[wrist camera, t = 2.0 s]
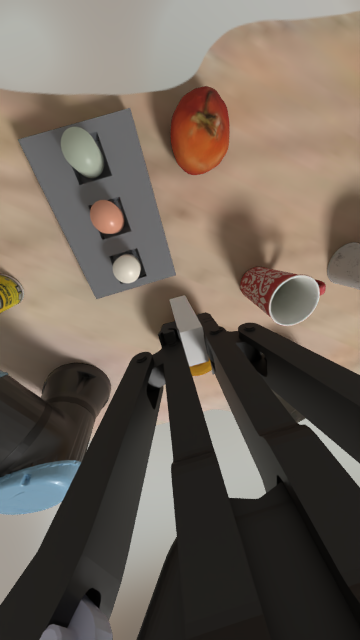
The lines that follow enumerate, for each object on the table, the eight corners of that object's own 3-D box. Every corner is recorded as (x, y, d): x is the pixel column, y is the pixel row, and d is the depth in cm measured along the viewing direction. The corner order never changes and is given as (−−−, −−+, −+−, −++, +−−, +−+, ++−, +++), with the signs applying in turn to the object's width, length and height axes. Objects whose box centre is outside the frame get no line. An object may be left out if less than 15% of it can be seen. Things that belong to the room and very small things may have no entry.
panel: (100, 293, 40) (96, 299, 36) (32, 149, 29) (17, 139, 26) (173, 271, 40) (176, 275, 37) (132, 121, 29) (130, 107, 26)
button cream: (122, 281, 36) (119, 286, 32) (112, 257, 34) (108, 260, 30) (144, 274, 36) (143, 279, 32) (135, 250, 34) (134, 252, 31)
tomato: (191, 192, 34) (202, 181, 27) (155, 141, 31) (157, 113, 24) (231, 150, 33) (254, 127, 26) (197, 91, 29) (213, 45, 22)
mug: (236, 305, 45) (268, 331, 33) (235, 266, 41) (270, 280, 29) (285, 295, 46) (334, 317, 34) (289, 256, 42) (346, 265, 30)
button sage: (81, 181, 29) (71, 174, 25) (66, 145, 27) (53, 131, 24) (108, 173, 29) (103, 165, 26) (96, 137, 27) (87, 122, 24)
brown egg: (103, 236, 33) (98, 237, 29) (92, 208, 31) (84, 204, 27) (128, 229, 33) (125, 228, 29) (118, 200, 31) (114, 196, 27)
